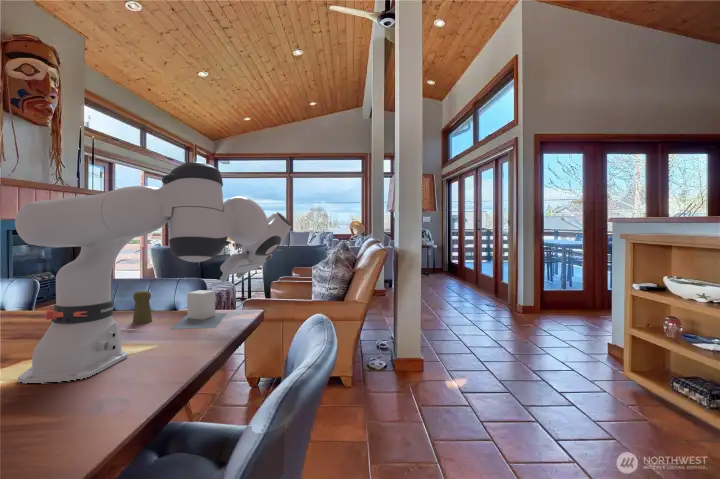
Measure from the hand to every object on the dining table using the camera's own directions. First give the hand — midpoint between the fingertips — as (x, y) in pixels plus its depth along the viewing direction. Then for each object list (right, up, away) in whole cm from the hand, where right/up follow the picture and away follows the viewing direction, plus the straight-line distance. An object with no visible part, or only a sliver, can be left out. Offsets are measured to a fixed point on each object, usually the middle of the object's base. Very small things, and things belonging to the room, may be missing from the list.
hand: (230, 278), depth 140 cm
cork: (-28, -15, -4) cm, 32 cm away
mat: (-9, -15, -2) cm, 18 cm away
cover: (-11, -14, +3) cm, 19 cm away
